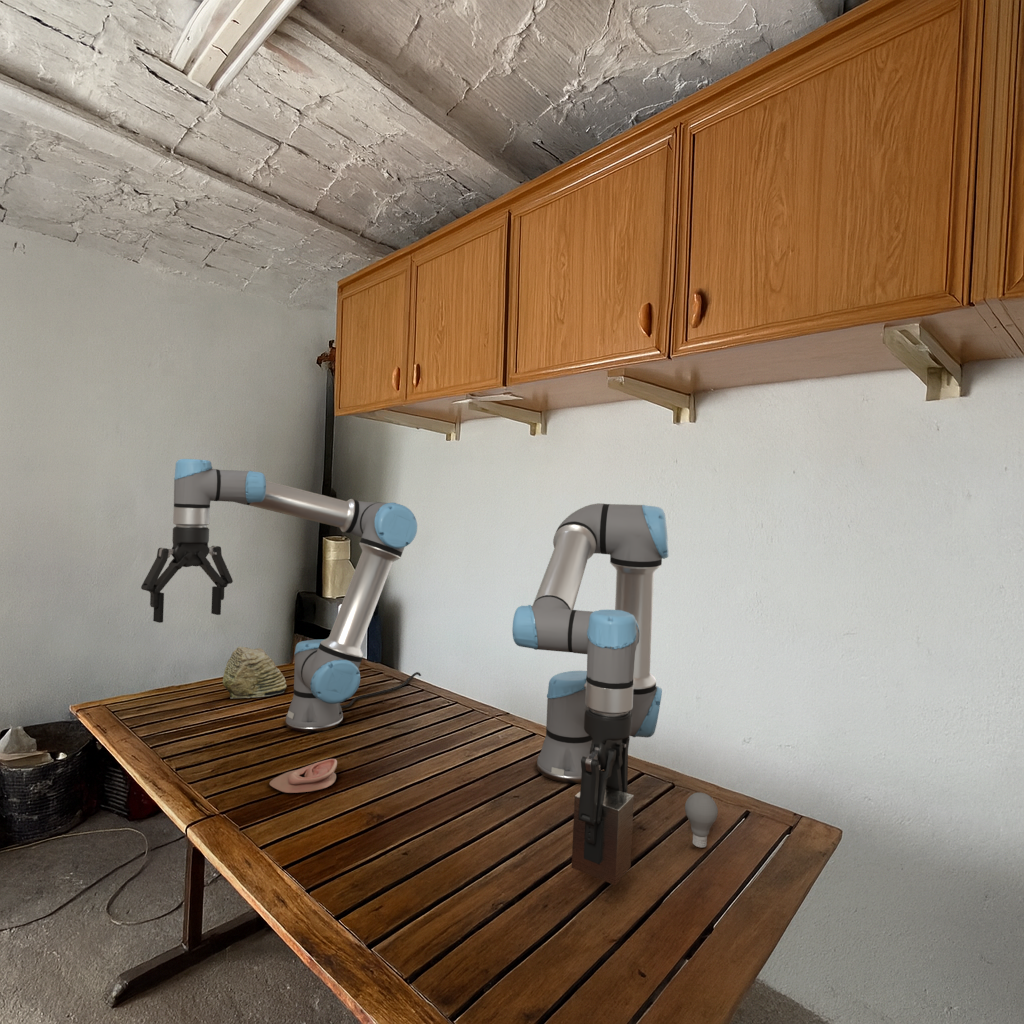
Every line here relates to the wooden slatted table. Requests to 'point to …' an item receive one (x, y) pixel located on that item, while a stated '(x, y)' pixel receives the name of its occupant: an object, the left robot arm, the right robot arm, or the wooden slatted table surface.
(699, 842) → the light bulb
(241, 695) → the fossil
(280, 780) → the anatomical model
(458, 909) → the wooden slatted table surface
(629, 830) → the block
